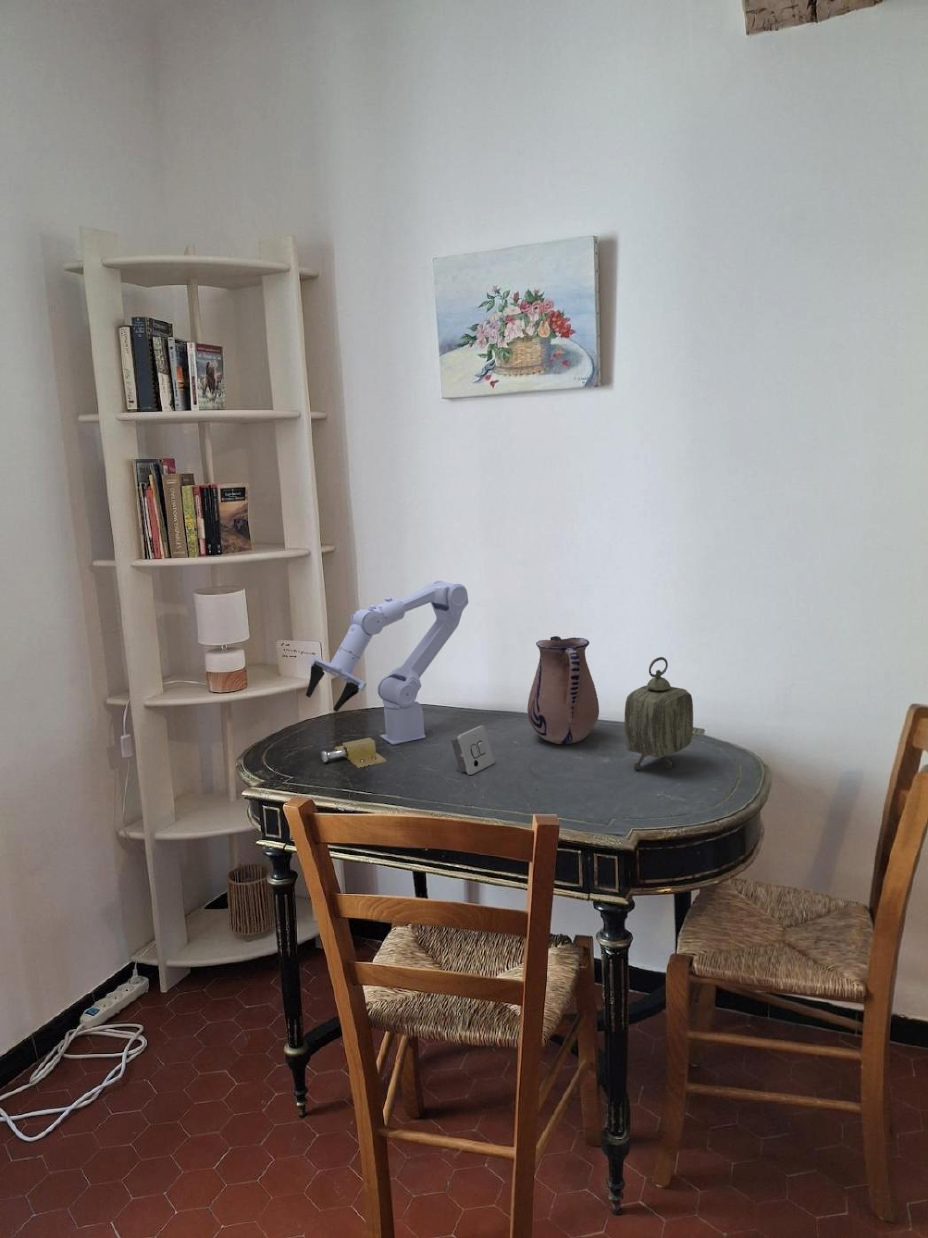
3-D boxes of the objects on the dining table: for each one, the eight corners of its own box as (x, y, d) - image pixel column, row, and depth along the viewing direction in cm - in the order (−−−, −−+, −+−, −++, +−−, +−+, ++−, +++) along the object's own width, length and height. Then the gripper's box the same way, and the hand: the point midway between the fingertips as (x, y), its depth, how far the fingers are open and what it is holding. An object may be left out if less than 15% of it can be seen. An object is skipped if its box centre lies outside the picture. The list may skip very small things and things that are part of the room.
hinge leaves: (361, 744, 232) (360, 731, 231) (386, 761, 218) (385, 748, 217) (335, 749, 229) (333, 736, 228) (358, 768, 215) (357, 754, 214)
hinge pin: (355, 753, 224) (355, 743, 224) (359, 756, 222) (359, 746, 221) (322, 760, 220) (321, 750, 220) (325, 763, 218) (324, 753, 217)
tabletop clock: (661, 753, 214) (660, 649, 209) (696, 761, 207) (695, 654, 202) (625, 771, 204) (623, 662, 199) (659, 780, 197) (658, 667, 193)
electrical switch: (470, 776, 206) (465, 736, 204) (453, 774, 209) (447, 735, 208) (495, 764, 213) (490, 725, 212) (478, 762, 216) (473, 724, 215)
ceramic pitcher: (580, 724, 238) (577, 630, 234) (619, 748, 219) (616, 646, 214) (518, 734, 233) (514, 638, 228) (551, 759, 213) (548, 655, 209)
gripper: (319, 637, 219) (291, 686, 216) (372, 663, 217) (344, 714, 214) (325, 644, 226) (298, 692, 223) (376, 670, 224) (349, 719, 221)
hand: (321, 703), depth 219 cm, fingers open, 7 cm apart
